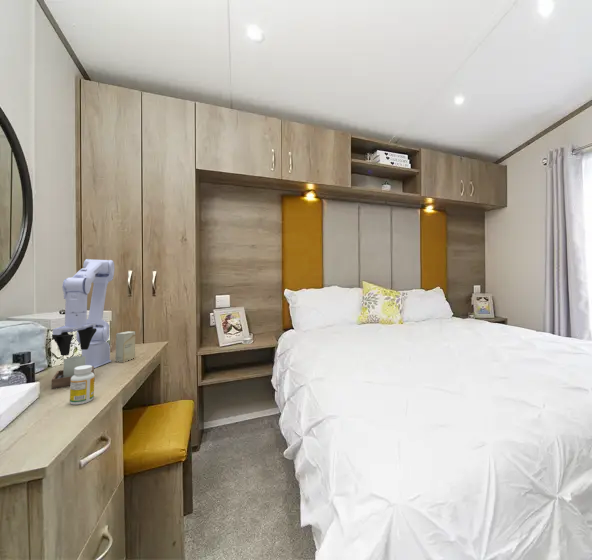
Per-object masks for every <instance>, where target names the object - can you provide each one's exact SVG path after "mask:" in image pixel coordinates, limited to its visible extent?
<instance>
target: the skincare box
mask: <svg viewBox="0 0 592 560" xmlns="http://www.w3.org/2000/svg"><path fill="white" fill-rule="evenodd" d="M133 358H135V359H136V331H130V330H128V331H127V330H126V331H123V332H122V331H121V332H117V333H116V334H115V362H116V361H119V362H118V363H126V362H129V361H132V360H131V359H133ZM128 360H129V361H128ZM133 360H134V359H133ZM125 361H126V362H125Z"/></svg>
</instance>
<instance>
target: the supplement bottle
mask: <svg viewBox="0 0 592 560" xmlns="http://www.w3.org/2000/svg"><path fill="white" fill-rule="evenodd" d="M91 371H92V366H91V365H83V366H78V367H76V368H74V374H75V375H73V376H72V377H71V383H70V386H69V387H70V389H69V404H70V405H73V406H74V405H75V406H78V405H83V404H87V403H89V402H90V401H93V400H94V398H95V376H96V375H95V372H94V373H92V372H91Z"/></svg>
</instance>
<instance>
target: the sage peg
mask: <svg viewBox="0 0 592 560" xmlns="http://www.w3.org/2000/svg"><path fill="white" fill-rule="evenodd" d="M83 365H85V356H82V355H78V356H77V355H74V356H71V357H67V358H64V359H63V370H64V372H63V378H64V377H71V376H73V375H75V374H74V368H76V367H78V366H83Z"/></svg>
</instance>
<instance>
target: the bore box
mask: <svg viewBox="0 0 592 560" xmlns="http://www.w3.org/2000/svg"><path fill="white" fill-rule="evenodd" d="M94 371H95V368H94V366H92V371H91V372H92V373H94V374H95V372H94ZM63 372H64V369H62V370H56V372H55V374H54V375H53V378H52V379H51V390H55V389H56V388H57V389H61V387H63V388H68V387H67V386H69V387H70V383H71V377H72V376H71V377H64V378H63Z"/></svg>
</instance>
